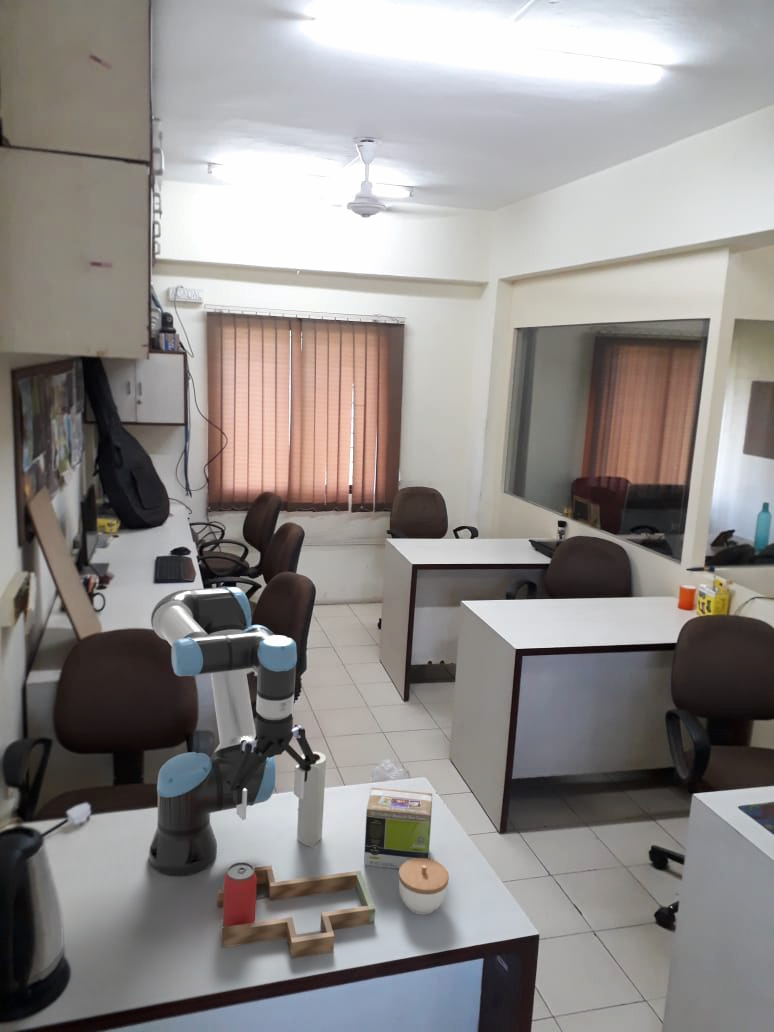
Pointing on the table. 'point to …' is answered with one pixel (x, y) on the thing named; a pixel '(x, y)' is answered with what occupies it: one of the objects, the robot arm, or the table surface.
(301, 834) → the paper towel roll
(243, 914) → the beer can
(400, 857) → the tea box
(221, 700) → the robot arm
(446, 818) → the table surface
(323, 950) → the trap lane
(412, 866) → the lidded jar
